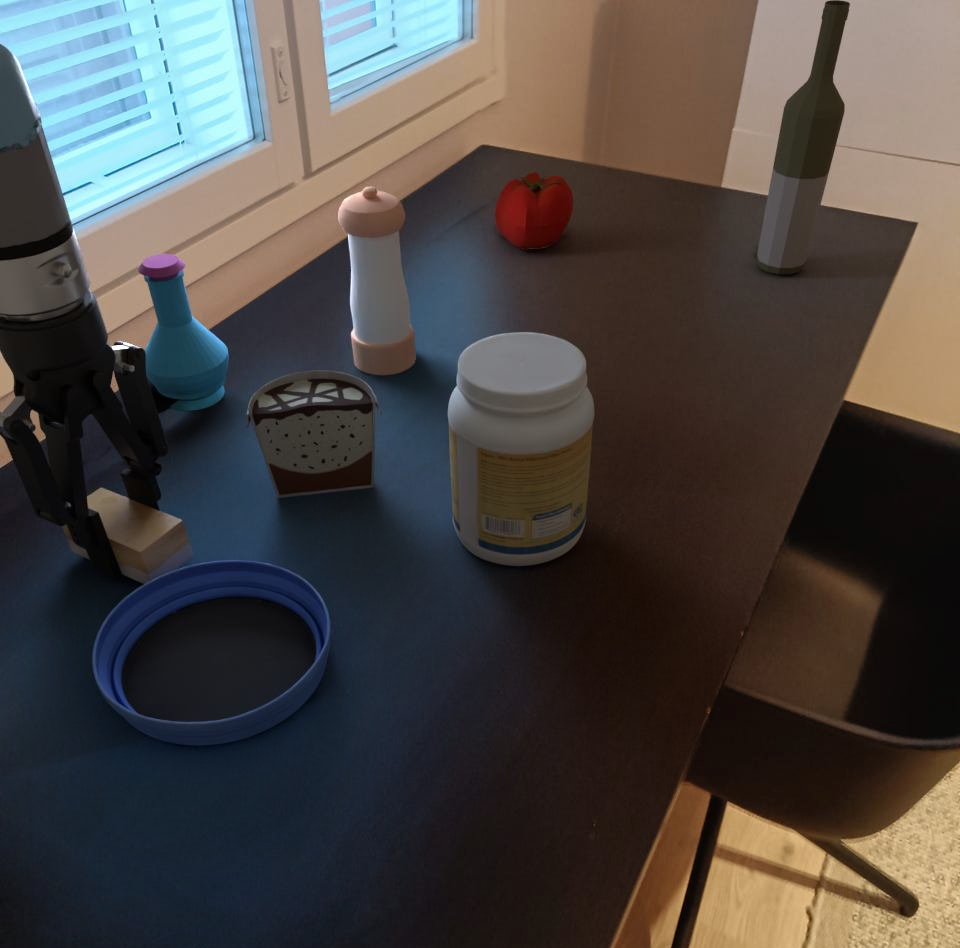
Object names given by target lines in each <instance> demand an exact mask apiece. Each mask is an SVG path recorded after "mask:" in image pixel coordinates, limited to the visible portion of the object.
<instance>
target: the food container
mask: <svg viewBox="0 0 960 948" xmlns="http://www.w3.org/2000/svg"><path fill="white" fill-rule="evenodd" d="M376 409H377V410H378V412H379V415H381V416H382V415H383V413H382V410H381V406H380V403H379V401H378V397H377V396H376V394H375V393H374V390H373V389H372V387H371V386H370V385H369V384H368V383H367V382H366V381H364V380H363V379H361V378H360V377H357V376H356V375H353V374H349V373H346V372H342V371H336V370H328V369H317V370H303V371H298V372H294V373H293V372H292V373H289V374H286V375H282V376H280V377H277V378H275V379H272V380H271V381H269V382H267V383H265V384H264V385H262V386H260V388H258V389H257V390H256V391H254V393H253V395H252V396H251V397H250V399H249V402H248V405H247V409H246V413H245V414H246V415H245V416H246V417H245V419H246V420H245V421H246V425H245V426H246V427H245V428H246V429H249V426H250V422H251V424H252V426H253V430H254V433H255V436H256V438H257V441H258V444H259V448H260V450H261V453H262V457H263V459H264V463H265V466H266V468H267V471H268V474H269V478H270V480H271V484H272V487H273V489H274V492H275V495H276V497H277V499H281V498H290V497H291V498H292V497H299V496H309V495H318V494H328V493H337V492H344V491H345V492H346V491H353V490H363V489H372V488H375V448H376V447H375V445H376V444H375V441H376V440H375V438H376V437H375V436H376Z"/></svg>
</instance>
